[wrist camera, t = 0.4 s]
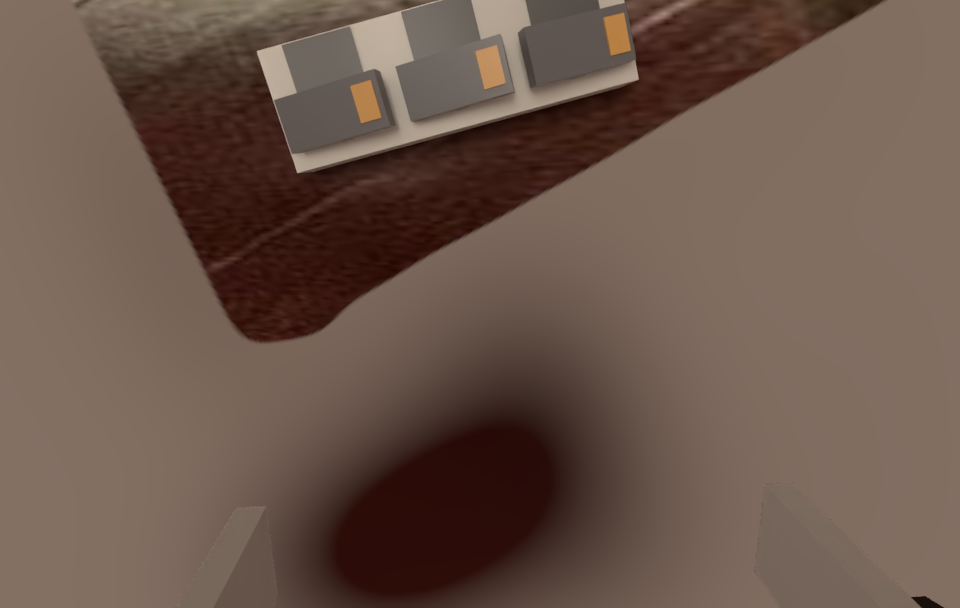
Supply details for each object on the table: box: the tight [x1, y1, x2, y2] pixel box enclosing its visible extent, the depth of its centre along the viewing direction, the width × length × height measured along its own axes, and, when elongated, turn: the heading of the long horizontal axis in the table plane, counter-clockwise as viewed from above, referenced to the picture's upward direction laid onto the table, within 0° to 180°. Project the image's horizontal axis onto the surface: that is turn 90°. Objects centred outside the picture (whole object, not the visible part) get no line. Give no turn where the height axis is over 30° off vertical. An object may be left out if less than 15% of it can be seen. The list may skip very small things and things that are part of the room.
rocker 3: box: [518, 3, 636, 89], centre depth 32 cm, size 3×6×1 cm, turn 105°
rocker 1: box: [274, 69, 396, 154], centre depth 33 cm, size 3×6×1 cm, turn 105°
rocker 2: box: [395, 34, 515, 122], centre depth 32 cm, size 3×6×1 cm, turn 105°
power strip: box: [257, 0, 639, 173], centre depth 35 cm, size 7×21×5 cm, turn 105°
